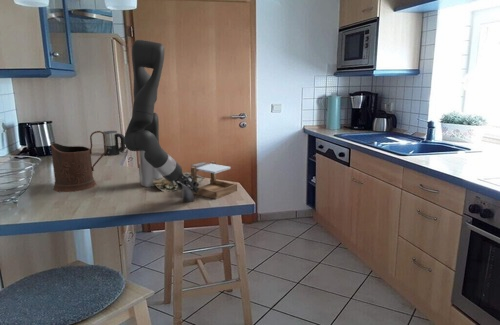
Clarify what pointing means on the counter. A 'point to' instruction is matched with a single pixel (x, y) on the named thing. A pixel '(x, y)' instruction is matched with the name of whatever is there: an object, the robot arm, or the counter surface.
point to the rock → (168, 186)
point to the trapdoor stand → (214, 186)
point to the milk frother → (113, 143)
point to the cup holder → (73, 167)
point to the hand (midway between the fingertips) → (190, 189)
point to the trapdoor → (210, 167)
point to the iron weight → (187, 193)
